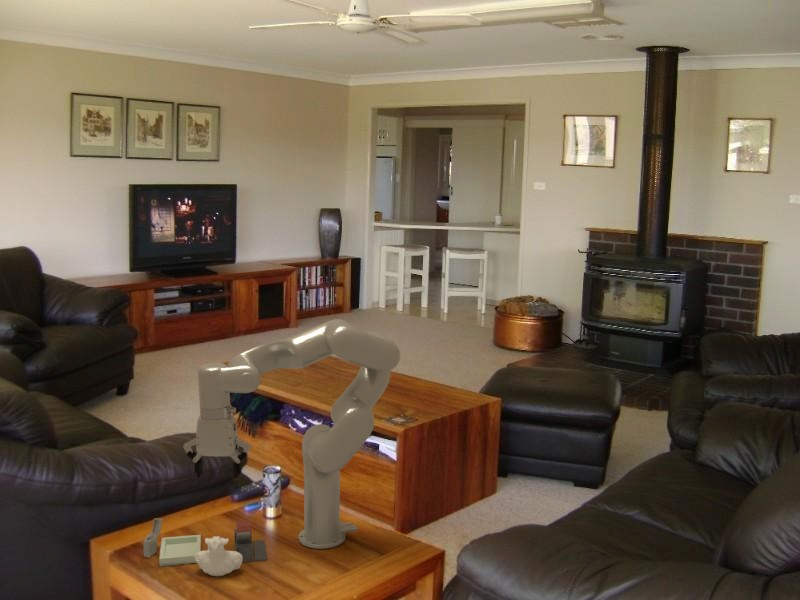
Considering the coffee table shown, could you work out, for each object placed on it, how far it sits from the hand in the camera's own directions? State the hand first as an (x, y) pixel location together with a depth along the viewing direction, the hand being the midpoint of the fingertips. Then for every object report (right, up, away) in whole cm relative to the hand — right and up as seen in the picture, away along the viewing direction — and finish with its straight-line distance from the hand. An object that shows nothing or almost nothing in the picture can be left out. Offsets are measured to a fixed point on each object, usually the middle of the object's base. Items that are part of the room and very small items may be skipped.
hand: (218, 475), depth 221 cm
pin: (+6, -21, +4) cm, 22 cm away
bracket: (+7, -21, +4) cm, 22 cm away
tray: (-10, -21, +2) cm, 23 cm away
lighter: (-18, -21, +4) cm, 28 cm away
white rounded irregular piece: (+1, -23, -7) cm, 24 cm away
